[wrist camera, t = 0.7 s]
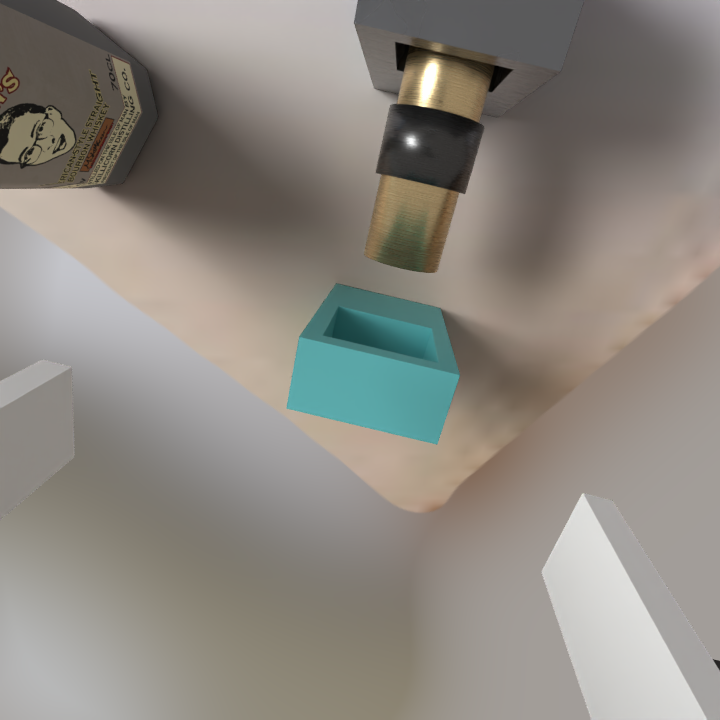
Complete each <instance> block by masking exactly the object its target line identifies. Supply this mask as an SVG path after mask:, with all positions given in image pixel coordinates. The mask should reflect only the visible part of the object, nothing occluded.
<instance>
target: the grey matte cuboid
mask: <svg viewBox="0 0 720 720" xmlns="http://www.w3.org/2000/svg"><path fill="white" fill-rule="evenodd" d="M583 3H584V0H358V4H357V9H356V15H355V21H354V24H355V28H356V31H357V34H358V37H359V41H360V44H361V47H362V50H363V54H364V57H365V60H366V63H367V67H368V70H369V73H370V76H371V80H372V83H373V86H374V88H375V89H380V90H384V91H388V92H392V93H397V94H399V92H400V87H401V83H402V78H403V74H404V69H405V64H406V60H407V55H408V51H409V46H410V45H412V46H416V47H420V48H424V49H429V50H433V51H437V52H441V53H446V54H450V55H454V56H458V57H463V58H467V59H471V60H476V61H480V62H484V63H488V64H493V65H495V68H494V72H493V75H492V79H491V82H490V86H489V89H488V93H487V96H486V100H485V103H484V107H483V111H482V114H486V115H490V116H494V117H499V116H501V115H502V114H503V113H505V112H506V111H507V110H509V109H510V108H512V107H513V106H514V105H516V104H517V103H518V102H520V101H521V100H523V99H524V98H525V97H527V96H528V95H529V94H531V93H532V92H534V91H535V90H536V89H538V88H539V87H540V86H542V85H543V84H545V83H546V82H547V81H549V80H550V79H551V78H553V77H554V76H555V75H557V74H558V73H560V72H561V70H562V67H563V64H564V61H565V58H566V55H567V52H568V49H569V46H570V43H571V39H572V36H573V33H574V30H575V27H576V24H577V21H578V18H579V15H580V12H581V9H582V6H583Z"/></svg>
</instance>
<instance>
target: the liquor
mask: <svg viewBox="0 0 720 720" xmlns="http://www.w3.org/2000/svg"><path fill="white" fill-rule="evenodd" d="M157 119H158V114H157V110H156V106H155V101H154V97H153V93H152V89H151V85H150V81H149V76H148V72H147V69H146V68H144V67H143V66H142V65H141V64H140V63H138V62H137V61H136V60H135V59H133V58H132V57H131V56H130V55H129V54H127V53H126V52H125V51H124V50H123V49H121V48H120V47H119V46H118V45H117V44H115V43H114V42H113V41H112V40H110V39H109V38H108V37H107V36H106V35H104V34H103V33H102V32H101V31H100V30H98V29H97V28H96V27H95V26H93V25H92V24H91V23H90V22H89V21H87V20H86V19H85V18H84V17H83V16H81V15H80V14H79V13H78V12H77V11H75V10H74V9H72V8H70V7H68V6H66V5H64V4H62V3H60V2H58V1H57V0H0V189H36V188H92V187H99V186H107V185H114V184H122V183H123V182H124V180H125V179H126V177H127V175H128V173H129V171H130V169H131V168H132V166H133V164H134V162H135V160H136V158H137V156H138V154H139V152H140V151H141V149H142V147H143V145H144V143H145V141H146V139H147V137H148V135H149V134H150V132H151V130H152V128H153V126H154V124H155V122H156V120H157Z"/></svg>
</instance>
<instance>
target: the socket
mask: <svg viewBox="0 0 720 720" xmlns="http://www.w3.org/2000/svg"><path fill="white" fill-rule="evenodd" d="M459 377H460V373H459V370H458V367H457V363H456V360H455V356H454V353H453V350H452V346H451V343H450V339H449V336H448V333H447V329H446V326H445V322H444V319H443V316H442V312H441V309H440V308H437V307H433V306H429V305H425V304H421V303H416V302H412V301H408V300H404V299H400V298H395V297H391V296H387V295H383V294H379V293H374V292H370V291H366V290H362V289H358V288H353V287H349V286H345V285H341V284H337V283H336V285H335V286H334V288H333V289H332V290H331V292H330V293H329V295H328V296H327V298H326V299H325V301H324V302H323V303H322V305H321V306H320V308H319V309H318V311H317V312H316V313H315V315H314V316H313V318H312V319H311V321H310V322H309V324H308V325H307V326H306V328H305V329H304V331H303V332H302V334H301V335H300V336H299V341H298V347H297V352H296V358H295V363H294V369H293V375H292V380H291V386H290V391H289V397H288V402H287V409H291V410H295V411H299V412H304V413H308V414H312V415H316V416H320V417H324V418H329V419H333V420H337V421H341V422H345V423H349V424H354V425H358V426H362V427H366V428H370V429H374V430H379V431H383V432H387V433H391V434H395V435H400V436H404V437H408V438H412V439H416V440H420V441H425V442H429V443H433V444H438V441H439V438H440V435H441V432H442V429H443V425H444V422H445V419H446V416H447V413H448V410H449V407H450V404H451V401H452V398H453V395H454V392H455V389H456V386H457V383H458V380H459Z"/></svg>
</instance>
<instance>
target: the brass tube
mask: <svg viewBox="0 0 720 720" xmlns="http://www.w3.org/2000/svg"><path fill="white" fill-rule="evenodd" d="M494 68H495V65H493V64H488V63H484V62H480V61H476V60H471V59H467V58H463V57H458V56H454V55H450V54H446V53H441V52H437V51H433V50H429V49H424V48H420V47H416V46H412V45H410V46H409V51H408V55H407V60H406V64H405V69H404V74H403V78H402V83H401V87H400V92H399V96H398V101H397V104H392V105H390V108H389V113H388V117H387V122H386V127H385V131H384V136H383V141H382V145H381V150H380V155H379V159H378V164H377V169H376V173H378V174H381V178H380V183H379V188H378V192H377V197H376V201H375V206H374V210H373V215H372V219H371V224H370V229H369V233H368V238H367V242H366V247H365V251H364V255H365V256H367V257H368V258H370V259H373V260H375V261H378V262H380V263H383V264H387V265H390V266H394V267H398V268H402V269H406V270H411V271H417V272H425V273H435V272H437V270H438V266H439V263H440V259H441V256H442V252H443V249H444V245H445V242H446V238H447V234H448V231H449V227H450V224H451V220H452V217H453V213H454V210H455V206H456V203H457V199H458V196H459V193H463V194H465V193H466V190H467V186H468V183H469V179H470V176H471V172H472V169H473V165H474V162H475V158H476V155H477V151H478V148H479V144H480V141H481V137H482V134H483V131H484V126H483V125H482V124H480V123H479V121H480V118H481V114H482V111H483V107H484V103H485V100H486V96H487V93H488V89H489V86H490V82H491V79H492V75H493V72H494Z"/></svg>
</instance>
